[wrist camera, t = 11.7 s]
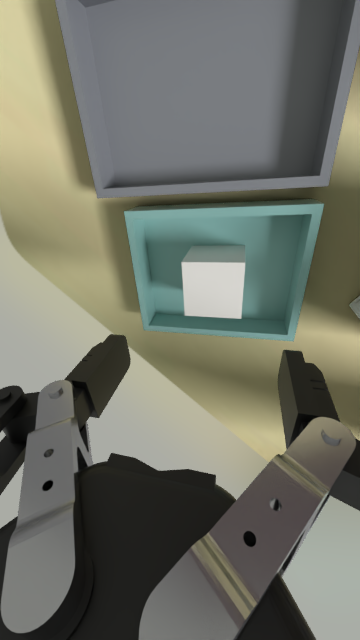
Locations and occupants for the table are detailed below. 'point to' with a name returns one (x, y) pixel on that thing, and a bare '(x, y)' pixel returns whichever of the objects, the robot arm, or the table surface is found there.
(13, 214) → the table surface
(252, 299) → the bin
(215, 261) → the stone block
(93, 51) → the bin
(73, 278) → the table surface
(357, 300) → the light bulb box
